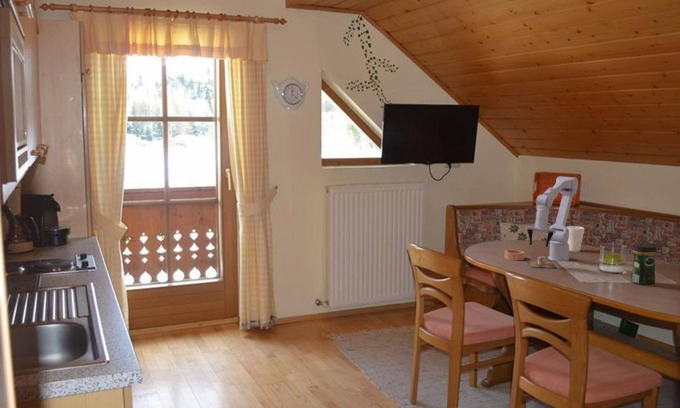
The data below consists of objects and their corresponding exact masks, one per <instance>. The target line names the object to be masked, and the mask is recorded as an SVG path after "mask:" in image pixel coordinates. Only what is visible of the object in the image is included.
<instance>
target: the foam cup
mask: <svg viewBox="0 0 680 408" xmlns="http://www.w3.org/2000/svg"><path fill="white" fill-rule="evenodd" d="M566 227H567V228H568V229H569V239H568V241H567V243H568V244H569V252H573V253H574V252H575V253H577V252H581V248H582V243H583V238H584V233H585V227H583V226H577V225H569V226H566Z"/></svg>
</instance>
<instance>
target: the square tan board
mask: <svg viewBox="0 0 680 408" xmlns="http://www.w3.org/2000/svg"><path fill="white" fill-rule="evenodd" d="M526 262H527V263H528V264H529V266H530V267H531V268H542V269H557V267H556V266H555V265H554V264H553V263H552V261H546V256H544V255H542V256H540V255H539V256H538V257H537V260H526Z"/></svg>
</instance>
